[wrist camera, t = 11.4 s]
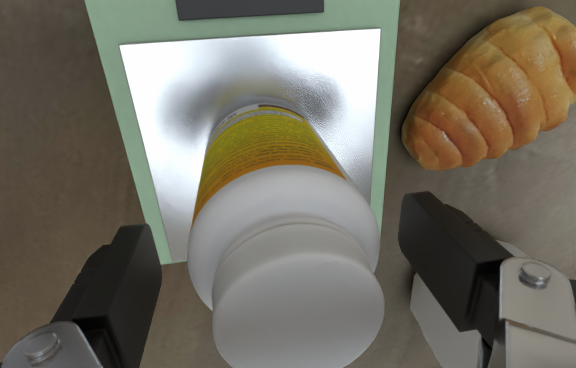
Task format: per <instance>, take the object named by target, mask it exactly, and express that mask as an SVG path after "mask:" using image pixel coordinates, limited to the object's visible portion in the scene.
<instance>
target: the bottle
mask: <svg viewBox="0 0 576 368" xmlns="http://www.w3.org/2000/svg"><path fill="white" fill-rule="evenodd" d="M495 240H496V239H495ZM496 241H497V242H498V243H500V244H501V245H502V246H503V247H504V248H505V249H507V250H508V251H509V252H510V253H511V254H512V255H514V256H515V257H527V258H529V257H528V256H527V255H526V254H524V253H523V252H522V251H521V250H520V249H519V248H518V247H516V246H515V245H514V244H510V243H507V242H503V241H500V240H496ZM410 310H411V312H412V313H413V315H414V317H415V318H416V320H417V322H418V323H419V325H420V328H421V330H422V333H423V335H424V337H425V339H426V341H427V343H428V344H429V346H430V348H431V350H432V351H433V353H434V355H435V357H436V358H437V360H438V362H439V363H440V365H441V367H442V368H477V358H478V345H479V341H480V337H481V334H480V333H479V332H478V331H477V330H471V331H465V332H459V331H458V330H457V328H456V327H455V325H454V324H453V323H452V321H451V320H450V318H449V317H448V316H447V314H446V313H445V311H444V310H443V309H442V307H441V306H440V304H439V303H438V302H437V300H436V299H435V297H434V296H433V295H432V293H431V292H430V290H429V289H428V288H427V286H426V285H425V283H424V282H423V281H422V279H421V278H420V276H419V275H418V274H417V272H416V274H415V275H414V281H413V288H412V296H411V303H410Z"/></svg>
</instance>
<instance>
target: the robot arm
mask: <svg viewBox="0 0 576 368" xmlns="http://www.w3.org/2000/svg"><path fill="white" fill-rule="evenodd" d="M398 241H399V245H400V248H401V251H402V253H403V254H404V256H405V257H406V258H407V260H408V261H409V263H410V264H411V265H412V267H413V268H414V270H415V271H416V272H417V274H418V275H419V276H420V278H421V279H422V281H423V282H424V283H425V285H426V286H427V288H428V289H429V290H430V292H431V293H432V295H433V296H434V297H435V299H436V300H437V302H438V303H439V304H440V306H441V307H442V309H443V310H444V311H445V313H446V314H447V316H448V317H449V318H450V320H451V321H452V323H453V324H454V325H455V327H456V328H457V330H458V331H459V332H465V331H471V330H477V331H478V332H479V333H480V334H481V337H480V341H479V345H478V358H477V368H576V280H571V279H568V278H567V277H566V276H565V275H564V274H563V273H562V272H561V271H560V270H558V269H557V268H555V267H553V266H551V265H550V264H547V263H545V262H542V261H540V260H536V259H533V258H527V257H515V256H514V255H512V254H511V253H510V252H509V251H508V250H507V249H505V248H504V247H503V246H502V245H501V244H500V243H498V242H497V241H496V240H495V239H494V238H493V237H491V236H490V235H489V234H488V233H487V232H486V231H483V230H482V228H481V227H480V226H479V225H477V224H476V223H473V220H472V219H470V218H469V217H468V216H467V215H466V214H464V213H463V212H462V211H460V210H458V209H456V208H454V207H452V206H449V205H447V204H443V203H442V202H441V201H440V200H439V199H438V198H436V197H435V196H434V195H433V194H432V193H431V192H429V191H426V192H417V193H409V194H405V195H404V196H403V198H402V203H401V212H400V221H399V231H398ZM161 282H162V269H161V264H160V260H159V256H158V252H157V249H156V245H155V241H154V238H153V234H152V230H151V227H150V226H149V224H147V223H146V224H137V225H129V226H121V227H120V228H119V230H118V232H117V234H116V235H115V237H114V239H113V241H112V243H111V244H109V245H103V246H102V247H100V248H99V249H98V250H97V251H96V252H95V253H93V254H92V255H91V256H90V257H89V258H88V260H87V261H86V263H85V265H84V266H83V268H82V270H81V273H79V275H78V277H77V278H76V280H75V284H73V285H72V287H71V288H70V290H69V292H68V293H67V295H66V297H65V298H64V300H63V302H62V303H61V305H60V307H59V309H58V310H57V312H56V314H55V315H54V317H53V319H52V320H51V322H50V324H47V325H44V326H42V327H40V328H37V329H35V330H34V331H32V332H30V333H28V334H27V335H25V336H24V337H23V338H21V339H20V340H19V341H18V342H17V343H16V344H14V345H13V346H12V347H11V349H10V350H9V351H8V352H7V354H6V356H5V357H4V359H3V362H1V363H0V368H139V366H140V362H141V359H142V355H143V351H144V347H145V344H146V340H147V336H148V332H149V329H150V325H151V321H152V317H153V313H154V310H155V306H156V302H157V298H158V295H159V291H160V287H161Z"/></svg>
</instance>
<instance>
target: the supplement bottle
mask: <svg viewBox="0 0 576 368" xmlns="http://www.w3.org/2000/svg"><path fill="white" fill-rule="evenodd" d="M379 252H380V234H379V228H378V224H377V221H376V218H375V216H374V214H373V212H372V210H371V208H370V206H369V204H368V202H367V200H366V199H365V198H364V196H363V195H362V193H361V192H360V190H359V189H358V188H357V186H356V185H355V184H354V182H353V181H352V179H351V178H350V177H349V175H348V174H347V173H346V171H345V170H344V169H343V167H342V166H341V164H340V163H339V161H338V160H337V159H336V157H335V156H334V155H333V153H332V152H331V150H330V149H329V148H328V146H327V145H326V144H325V142H324V141H323V139H322V138H321V137H320V135H319V134H318V133H317V131H316V130H315V129H314V127H313V126H312V125H311V124H310V123H309V122H308V121H307V120H306V119H305V118H304V117H303V116H302V115H300V114H299V113H297V112H296V111H294V110H292V109H290V108H287V107H285V106H281V105H276V104H269V103H261V104H253V105H249V106H246V107H243V108H240V109H238V110H236V111H234V112H233V113H231V114H230V115H228V116H227V117H226V118H225V119H223V120H222V121H221V122H220V123H219V125H218V126H217V127H216V128H215V130H214V131H213V133H212V135H211V137H210V139H209V141H208V144H207V147H206V150H205V155H204V161H203V166H202V172H201V177H200V182H199V187H198V192H197V197H196V202H195V208H194V213H193V219H192V225H191V230H190V235H189V240H188V249H187V265H188V270H189V275H190V278H191V281H192V284H193V286H194V288H195V290H196V292H197V294H198V295H199V297H200V298H201V300H202V301H203V302H204V303H205V304H206V305H207V306H208V307H209V308H210V309H211V310H212V311H213V315H212V333H213V338H214V342H215V345H216V347H217V350H218V351H219V353H220V355H221V356H222V358H223V359H224V360H225V361H226V362H227V363H228V364H229V365H230V366H231V367H233V368H343V367H345V366H346V365H348V364H350V363H351V362H352V361H354V360H355V359H356V358H357V357H359V356H360V355H361V354H362V353H363V352H364V351H365V350H366V349H367V348H368V347H369V345H370V344H371V343H372V342H373V340H374V339H375V337H376V336H377V334H378V332H379V330H380V327H381V325H382V322H383V318H384V310H385V304H384V296H383V293H382V289H381V287H380V285H379V283H378V281H377V279H376V277H375V275H374V271H375V268H376V265H377V262H378V258H379Z"/></svg>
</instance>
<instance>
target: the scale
mask: <svg viewBox="0 0 576 368" xmlns="http://www.w3.org/2000/svg"><path fill="white" fill-rule="evenodd" d="M85 4H86V8H87V11H88V15H89V19H90V22H91V26H92V29H93V33H94V37H95V40H96V44H97V48H98V51H99V55H100V58H101V62H102V66H103V69H104V73H105V77H106V80H107V84H108V87H109V91H110V95H111V98H112V102H113V106H114V109H115V113H116V116H117V120H118V124H119V127H120V131H121V135H122V138H123V142H124V145H125V149H126V153H127V156H128V160H129V164H130V167H131V171H132V174H133V178H134V182H135V185H136V189H137V193H138V196H139V200H140V203H141V207H142V211H143V214H144V218H145V222H146V223H147V224H149V226H150V227H151V230H152V234H153V238H154V241H155V245H156V249H157V252H158V256H159V260H160V264H169V263H177V262H185V261H187V249H188V240H189V235H190V230H191V225H192V219H193V213H194V208H195V202H196V197H197V192H198V187H199V182H200V177H201V172H202V166H203V161H204V155H205V150H206V147H207V144H208V141H209V139H210V137H211V135H212V133H213V131H214V130H215V128H216V127H217V126H218V125H219V123H220V122H221V121H222V120H223V119H225V118H226V117H227V116H228V115H230V114H231V113H233V112H234V111H236V110H238V109H240V108H243V107H246V106H249V105H253V104H261V103H269V104H276V105H281V106H285V107H287V108H290V109H292V110H294V111H296V112H297V113H299V114H300V115H302V116H303V117H304V118H305V119H306V120H307V121H308V122H309V123H310V124H311V125H312V126H313V127H314V129H315V130H316V131H317V133H318V134H319V135H320V137H321V138H322V139H323V141H324V142H325V144H326V145H327V146H328V148H329V149H330V150H331V152H332V153H333V155H334V156H335V157H336V159H337V160H338V161H339V163H340V164H341V166H342V167H343V169H344V170H345V171H346V173H347V174H348V175H349V177H350V178H351V179H352V181H353V182H354V184H355V185H356V186H357V188H358V189H359V190H360V192H361V193H362V195H363V196H364V198H365V199H366V200H367V202H368V204H369V206H370V208H371V210H372V212H373V214H374V216H375V218H376V221H377V224H378V228H379V234H380V236H381V224H382V212H383V200H384V188H385V176H386V163H387V151H388V139H389V127H390V115H391V103H392V91H393V79H394V66H395V54H396V42H397V30H398V18H399V6H400V0H85Z"/></svg>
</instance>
